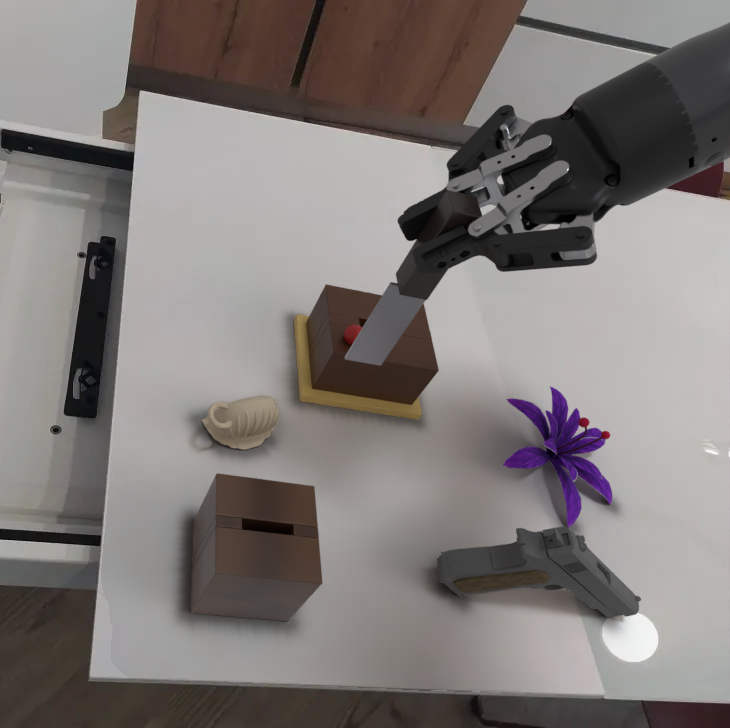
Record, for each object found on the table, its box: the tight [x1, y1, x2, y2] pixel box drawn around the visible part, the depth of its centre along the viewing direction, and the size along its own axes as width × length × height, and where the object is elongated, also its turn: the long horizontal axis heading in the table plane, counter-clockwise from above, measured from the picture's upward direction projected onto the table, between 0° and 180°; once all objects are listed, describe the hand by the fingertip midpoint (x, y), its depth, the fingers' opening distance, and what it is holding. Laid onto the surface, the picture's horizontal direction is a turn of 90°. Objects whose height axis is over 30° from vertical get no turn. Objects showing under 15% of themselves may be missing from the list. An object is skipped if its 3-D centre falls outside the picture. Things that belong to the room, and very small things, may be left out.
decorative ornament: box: [201, 395, 280, 451], centre depth 67 cm, size 4×8×5 cm, turn 110°
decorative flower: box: [502, 386, 613, 528], centre depth 75 cm, size 14×15×7 cm
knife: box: [345, 190, 483, 366], centre depth 54 cm, size 3×2×17 cm
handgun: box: [436, 525, 642, 618], centre depth 65 cm, size 3×18×12 cm
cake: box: [293, 283, 440, 421], centre depth 75 cm, size 13×11×9 cm
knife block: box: [190, 473, 323, 622], centre depth 58 cm, size 8×8×8 cm
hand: (410, 246), depth 50 cm, fingers closed on knife, 2 cm apart
